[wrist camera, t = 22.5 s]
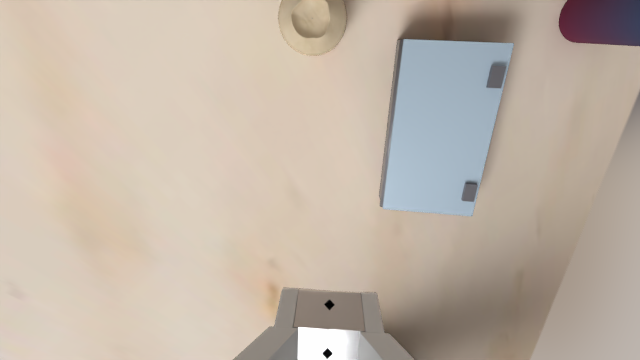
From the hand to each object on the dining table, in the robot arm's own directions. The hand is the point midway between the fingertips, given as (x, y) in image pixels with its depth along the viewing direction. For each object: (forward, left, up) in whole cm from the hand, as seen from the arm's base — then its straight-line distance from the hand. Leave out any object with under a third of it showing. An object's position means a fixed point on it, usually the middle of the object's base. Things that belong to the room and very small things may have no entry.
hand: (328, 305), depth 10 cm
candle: (+10, +2, -29) cm, 31 cm away
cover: (0, -11, -26) cm, 29 cm away
